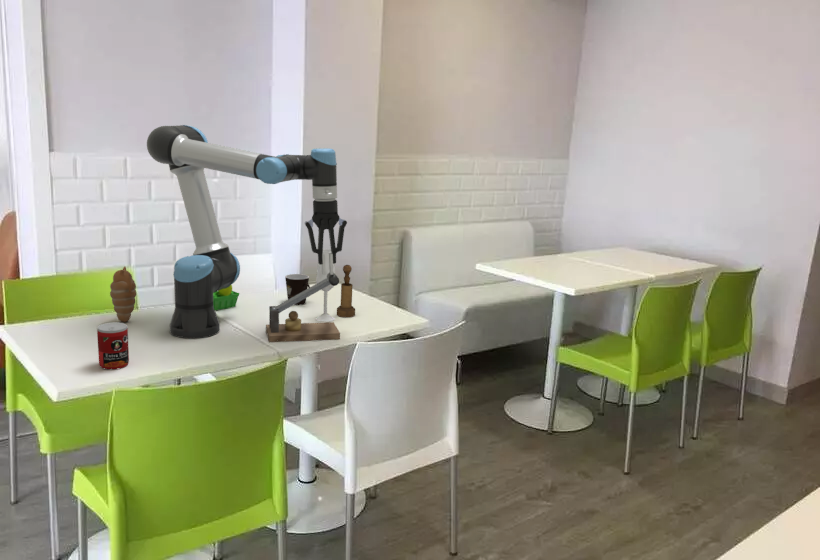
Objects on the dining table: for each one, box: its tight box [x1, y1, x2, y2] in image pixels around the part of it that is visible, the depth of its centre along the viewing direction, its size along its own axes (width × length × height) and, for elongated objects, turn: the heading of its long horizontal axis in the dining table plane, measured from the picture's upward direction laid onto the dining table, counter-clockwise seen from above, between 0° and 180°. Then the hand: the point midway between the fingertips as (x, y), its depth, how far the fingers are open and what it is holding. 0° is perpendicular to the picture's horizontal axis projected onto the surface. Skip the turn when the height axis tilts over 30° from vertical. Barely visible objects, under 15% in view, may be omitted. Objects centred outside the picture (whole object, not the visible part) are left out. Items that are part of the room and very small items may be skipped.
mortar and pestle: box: [336, 264, 356, 318], centre depth 255 cm, size 7×6×18 cm
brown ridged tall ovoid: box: [109, 266, 137, 323], centre depth 235 cm, size 9×8×18 cm
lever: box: [270, 272, 340, 314], centre depth 230 cm, size 24×6×3 cm, turn 105°
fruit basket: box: [213, 284, 240, 311], centre depth 257 cm, size 11×9×11 cm
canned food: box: [96, 321, 130, 370], centre depth 198 cm, size 8×8×11 cm
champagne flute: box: [315, 248, 336, 323], centre depth 248 cm, size 7×7×24 cm
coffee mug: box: [284, 273, 311, 306], centre depth 267 cm, size 12×9×10 cm
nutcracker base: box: [265, 305, 341, 343], centre depth 231 cm, size 22×12×9 cm, turn 106°
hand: (327, 273), depth 230 cm, fingers open, 2 cm apart
